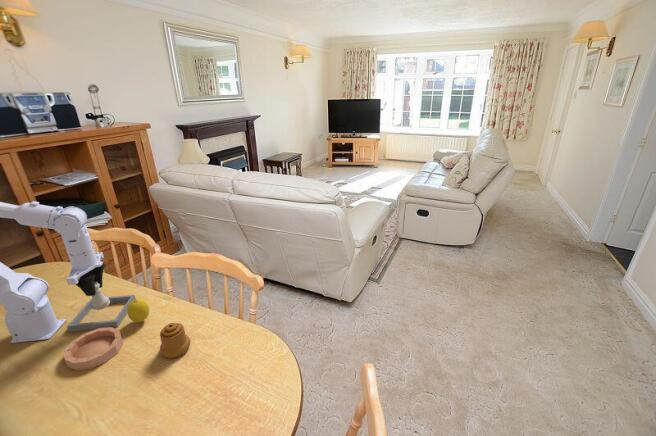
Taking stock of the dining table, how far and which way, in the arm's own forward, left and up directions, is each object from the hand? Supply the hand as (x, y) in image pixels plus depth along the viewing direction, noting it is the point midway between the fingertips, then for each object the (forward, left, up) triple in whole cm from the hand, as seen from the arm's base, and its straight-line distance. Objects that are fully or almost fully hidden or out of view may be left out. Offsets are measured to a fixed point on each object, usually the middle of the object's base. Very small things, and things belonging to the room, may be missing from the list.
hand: (94, 291), depth 89 cm
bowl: (+4, -14, -10) cm, 18 cm away
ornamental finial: (+25, -16, -10) cm, 32 cm away
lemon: (+12, -3, -10) cm, 16 cm away
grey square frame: (-1, +2, -10) cm, 10 cm away
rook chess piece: (+1, 0, -6) cm, 6 cm away
